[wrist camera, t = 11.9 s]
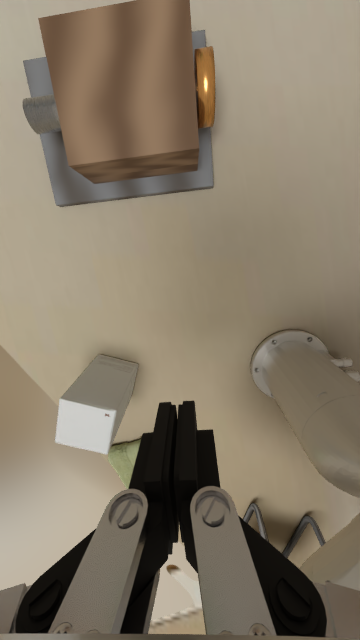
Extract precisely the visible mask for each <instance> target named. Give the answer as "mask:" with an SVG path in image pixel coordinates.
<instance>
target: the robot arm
mask: <svg viewBox="0 0 360 640" xmlns="http://www.w3.org/2000/svg"><path fill="white" fill-rule="evenodd" d="M272 340H273V341H272ZM352 364H353V363H352V360H351V359H350V358H340V359H335V358H333V357H332V356H330V355H329V352H328V350H327V348H326V346H325V344H324V343H323V342H322V341H321V340H320V339H318V338H317V337H315V336H314V335H312V334H310V333H308V332H305V331H301V330H285V331H281V332H278V333H276V334H273V335H271V336H270V337H268V338H267V339H265V340H264V341H263V342H262V343H261V344H260V345H259V346H258V348H257V349H256V350H255V352H254V355H253V357H252V361H251V374H252V377H253V380H254V382H255V384H256V385H257V387H258V388H259V389H260V390H261V391H262V392H263V393H264V394H266V395H268V396H269V397H272V398H275V400H276V402H277V404H278V405H279V407H280V409H281V411H282V412H283V414H284V416H285V418H286V419H287V421H288V423H289V425H290V426H291V428H292V430H293V432H294V433H295V435H296V437H297V439H298V440H299V442H300V444H301V446H302V447H303V449H304V451H305V452H306V454H307V456H308V457H309V459H310V461H311V462H312V464H313V465H314V467H315V468H316V469H317V471H318V472H319V473H320V474H321V475H322V476H323V477H324V478H325V479H326V480H327V481H329V482H330V483H331V484H333V485H334V486H336V487H337V488H339V489H341V490H343V491H345V492H347V493H349V494H351V495H353V496H355V497H358V498H360V384H359V383H358V382H359V381H360V375H359V373H358V372H357V371H356V370H344V371H343V370H341V369H340V368H339V367H351V366H352ZM255 368H256V369H255ZM179 525H180V532H181V539H182V542H184V545H185V552H186V559H187V560H188V562H189V563H190V564H191V566H192V567H193V568H194V569H195V571H196V572H197V573H198V578H199V586H200V593H201V601H202V608H203V615H204V623H205V630H206V635H192V634H148V631H149V626H150V621H151V616H152V611H153V606H154V601H155V596H156V591H157V586H158V582H159V575H160V568H161V567H162V566H163V564H164V563H165V562H166V561H167V559H168V554H172V547H173V543H176V542H178V531H179ZM0 640H360V513H359V514H358V515H357V516H356V517H355V518H354V519H352V521H351V523H349V524H348V525H347V526H346V527H345V528H343V529H342V530H341V531H340V532H338V533H337V534H336V535H335V536H334V537H332V538H331V539H330V540H329V541H327V542H326V543H325V544H324V545H323V546H321V547H320V548H319V549H318V550H317V551H316V552H315V553H313V554H312V555H311V556H310V557H309V558H308V559H307V560H306V561H305V562H304V563H303V564H302V566H301V567H300V568H299V569H298V568H297V567H296V566H295V565H294V564H293V563H292V562H290V561H289V560H288V559H287V558H286V557H285V556H284V555H283V554H281V553H280V552H279V551H278V550H277V549H276V548H275V547H273V546H272V545H271V544H270V543H269V542H268V541H267V540H266V539H264V538H263V537H262V536H261V535H260V534H259V533H258V532H256V531H255V530H254V529H253V528H252V527H251V526H250V525H248V524H247V523H246V522H245V521H244V520H243V519H242V518H241V517H239V516H238V514H237V511H236V507H235V504H234V502H233V500H232V498H231V496H230V495H229V494H228V493H227V492H226V491H225V490H223V489H221V488H220V481H219V473H218V466H217V458H216V450H215V442H214V434H213V430H197V423H196V412H195V402H194V401H183V405H179V407H178V420H177V412H176V405H172V404H171V402H163V403H159V407H158V412H157V417H156V422H155V427H154V432H153V433H143V435H142V438H141V442H140V446H139V449H138V453H137V457H136V461H135V465H134V469H133V472H132V476H131V480H130V484H129V488H128V489H127V490H124V491H121V492H120V493H118V494H117V495H115V496H114V497H113V498H112V499H111V500H110V502H109V504H108V505H107V507H106V509H105V511H104V513H103V515H102V517H101V520H100V522H99V524H98V526H97V528H96V529H95V530H94V531H93V532H91V533H90V534H89V535H88V536H87V537H86V538H84V539H83V540H82V541H81V542H80V543H79V544H77V545H76V546H75V547H74V548H73V549H72V550H70V551H69V552H68V553H67V554H66V555H65V556H63V557H62V558H61V559H60V560H59V561H58V562H57V563H55V564H54V565H53V566H52V567H51V568H50V569H49V570H47V571H46V572H45V573H44V574H43V575H41V576H40V577H39V578H38V579H37V580H36V582H34V583H33V585H31V586H27V587H26V584H25V583H24V584H20V585H17V586H14V587H11V588H8V589H4V590H1V591H0Z"/></svg>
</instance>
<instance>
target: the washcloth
mask: <svg viewBox="0 0 360 640" xmlns="http://www.w3.org/2000/svg"><path fill="white" fill-rule="evenodd" d="M140 442H141V439H140V440H138V441H134V442H131V443H127V442H126V443H123V444H120V445H114V446H111V448H110V450H109V452H108V461H109V462H110V464H111V465H112V467H113V468H114V470H115V471H116V472H117V474H118V475H119V476H120V479H121V481H122V482H123V483H124V485H125V487H126V489H128V488H129V484H130V480H131V476H132V472H133V469H134V465H135V461H136V457H137V453H138V449H139V446H140Z"/></svg>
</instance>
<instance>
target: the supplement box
mask: <svg viewBox="0 0 360 640" xmlns="http://www.w3.org/2000/svg"><path fill="white" fill-rule="evenodd" d="M137 369H138V364H136V363H133V362H129V361H125V360H121V359H117V358H113V357H109V356H105V355H100V354H99V355H98V356H97V357H96V358H95V359H94V360H93V361H92V362H91V363H90V365H89V366H88V367H87V368H86V369H85V370H84V372H83V373H82V374H81V375H80V376H79V377H78V378H77V380H76V381H75V382H74V383H73V384H72V385H71V387H70V388H69V389H68V390H67V391H66V392H65V393H64V394H63V396H62V397H61V398H60V400H59V409H58V419H57V428H56V436H55V443H60V444H64V445H68V446H72V447H76V448H81V449H86V450H90V451H94V452H98V453H102V454H106V455H107V454H108V452H109V450H110V448H111V445H112V443H113V441H114V438H115V436H116V433H117V431H118V428H119V426H120V423H121V421H122V418H123V416H124V413H125V411H126V408H127V406H128V404H129V401H130V399H131V396H132V392H133V388H134V383H135V378H136V374H137Z"/></svg>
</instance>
